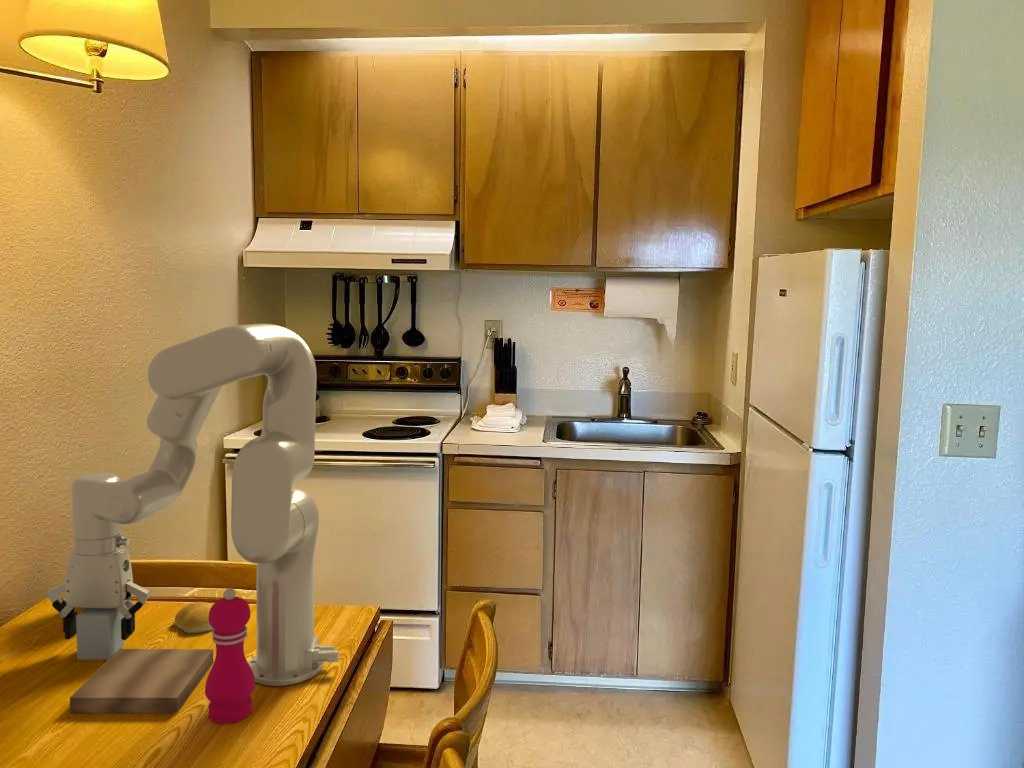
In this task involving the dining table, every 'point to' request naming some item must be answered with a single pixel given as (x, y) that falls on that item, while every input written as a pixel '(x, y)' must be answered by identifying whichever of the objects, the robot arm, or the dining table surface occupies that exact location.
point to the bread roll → (194, 617)
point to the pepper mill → (229, 661)
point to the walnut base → (143, 681)
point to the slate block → (98, 633)
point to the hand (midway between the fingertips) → (99, 636)
